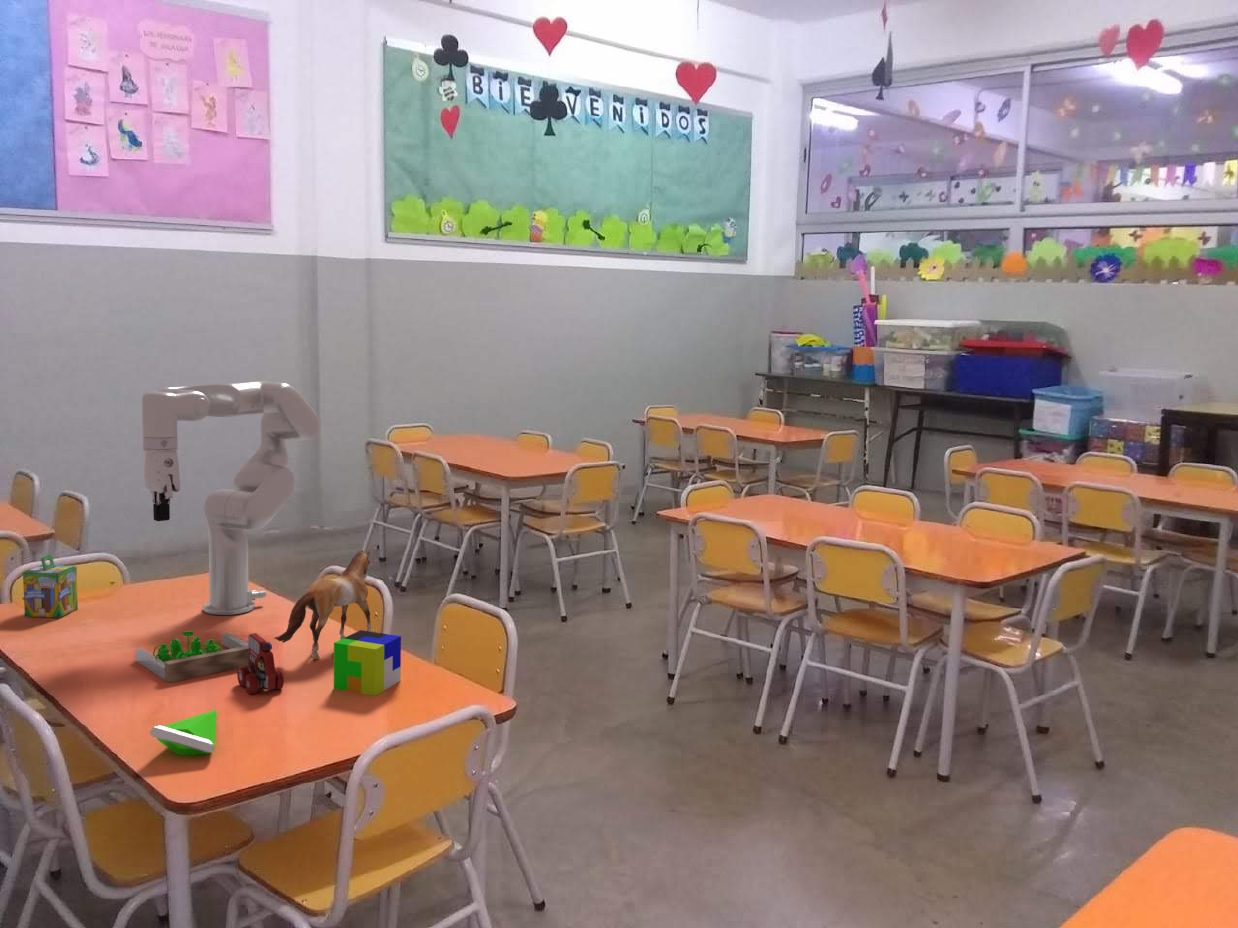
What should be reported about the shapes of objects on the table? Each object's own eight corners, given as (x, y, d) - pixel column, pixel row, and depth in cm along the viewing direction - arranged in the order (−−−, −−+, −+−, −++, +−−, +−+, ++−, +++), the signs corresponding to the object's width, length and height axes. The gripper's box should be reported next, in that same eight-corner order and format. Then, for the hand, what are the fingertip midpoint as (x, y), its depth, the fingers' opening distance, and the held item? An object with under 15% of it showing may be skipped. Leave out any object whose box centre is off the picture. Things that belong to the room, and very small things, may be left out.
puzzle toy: (400, 681, 226) (401, 636, 225) (375, 696, 217) (375, 649, 215) (360, 674, 229) (360, 630, 228) (333, 688, 220) (333, 642, 218)
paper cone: (182, 718, 205) (142, 750, 181) (191, 692, 206) (152, 720, 181) (238, 735, 207) (206, 769, 182) (247, 709, 207) (217, 740, 182)
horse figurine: (362, 628, 262) (363, 548, 259) (388, 633, 259) (389, 552, 256) (273, 662, 234) (273, 572, 231) (300, 668, 231) (300, 577, 228)
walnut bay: (228, 643, 246) (228, 626, 246) (263, 662, 234) (263, 645, 233) (135, 660, 232) (135, 643, 231) (168, 682, 219) (168, 664, 218)
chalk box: (59, 619, 260) (57, 560, 258) (23, 617, 260) (20, 559, 258) (79, 609, 269) (77, 552, 267) (44, 607, 269) (42, 550, 267)
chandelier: (203, 648, 243) (202, 619, 242) (237, 663, 233) (237, 633, 233) (138, 662, 232) (138, 631, 231) (172, 679, 222) (171, 647, 221)
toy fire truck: (254, 699, 212) (253, 650, 210) (234, 681, 221) (234, 633, 220) (288, 693, 216) (287, 644, 215) (267, 676, 226) (267, 629, 224)
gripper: (189, 446, 246) (190, 523, 248) (163, 439, 256) (165, 513, 259) (156, 448, 240) (158, 527, 243) (132, 441, 251) (133, 516, 253)
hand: (161, 520), depth 251 cm, fingers closed
